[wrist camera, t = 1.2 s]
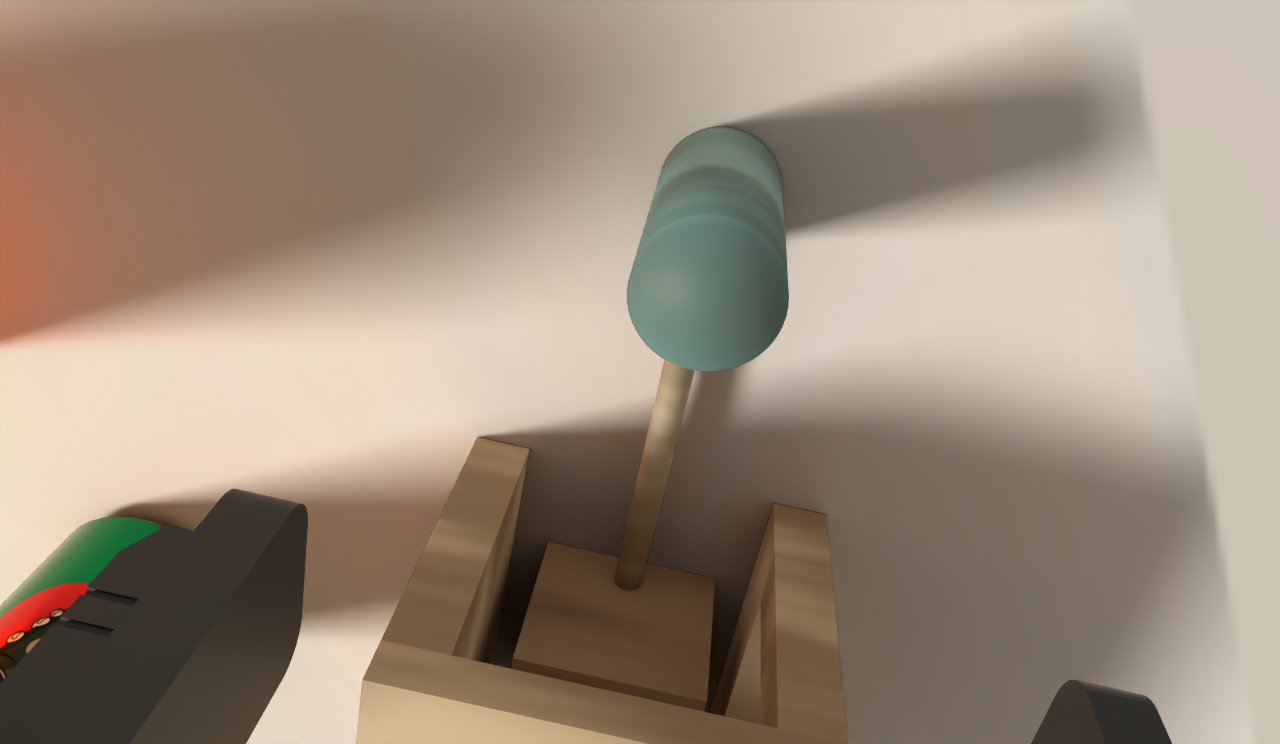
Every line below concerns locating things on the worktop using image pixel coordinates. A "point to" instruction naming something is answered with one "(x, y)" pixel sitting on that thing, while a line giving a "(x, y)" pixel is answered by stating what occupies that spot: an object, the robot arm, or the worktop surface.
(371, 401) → the worktop surface
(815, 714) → the box
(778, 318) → the tethered block
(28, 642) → the soda can
